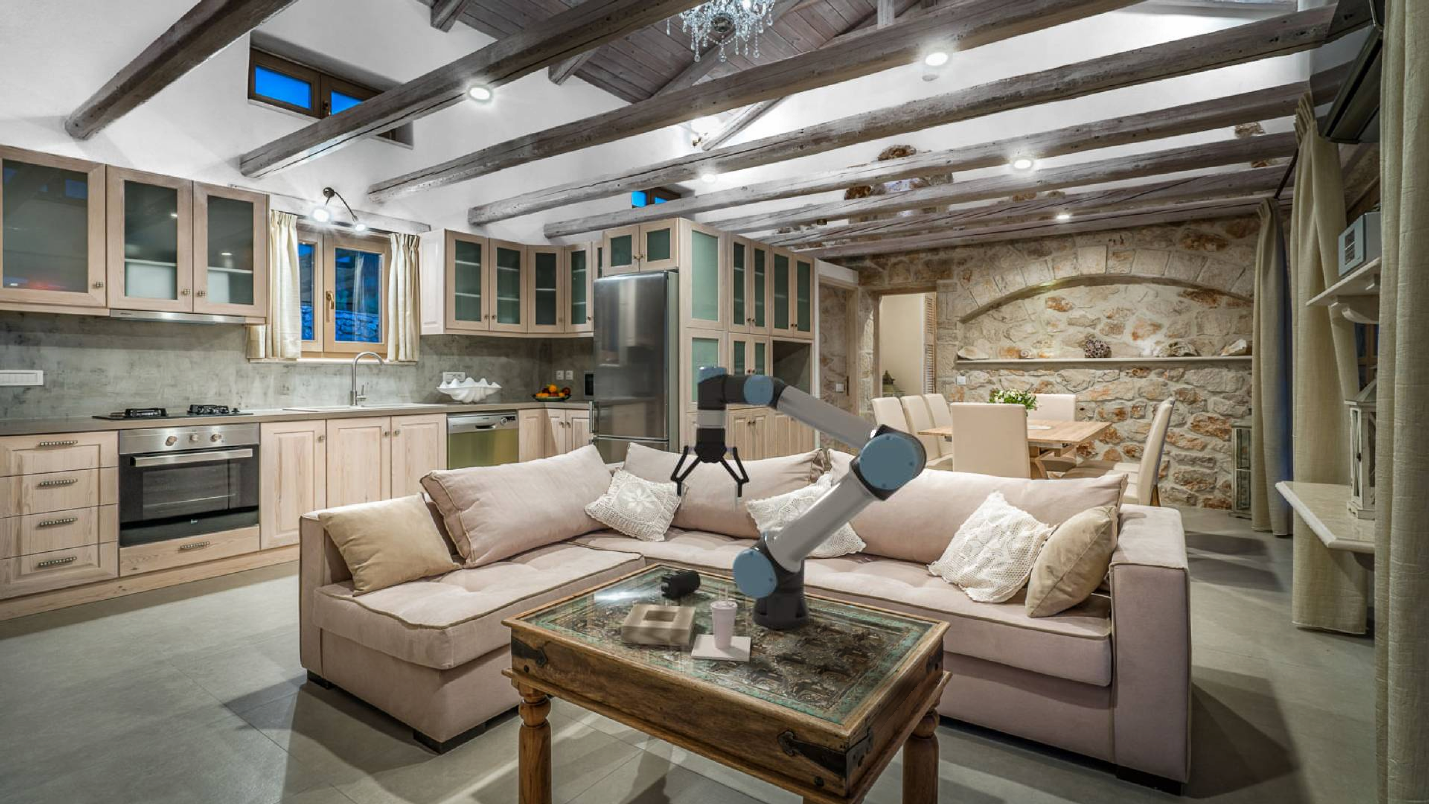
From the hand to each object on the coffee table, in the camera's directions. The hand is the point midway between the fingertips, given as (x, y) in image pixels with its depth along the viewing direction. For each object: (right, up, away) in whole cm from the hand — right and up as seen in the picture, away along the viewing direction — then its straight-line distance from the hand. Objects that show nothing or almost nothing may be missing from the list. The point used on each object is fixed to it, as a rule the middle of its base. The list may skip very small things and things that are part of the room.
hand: (709, 509), depth 168 cm
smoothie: (+3, -29, -16) cm, 33 cm away
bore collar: (-12, -29, -6) cm, 32 cm away
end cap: (-9, -29, +24) cm, 39 cm away
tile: (+3, -30, -16) cm, 34 cm away
